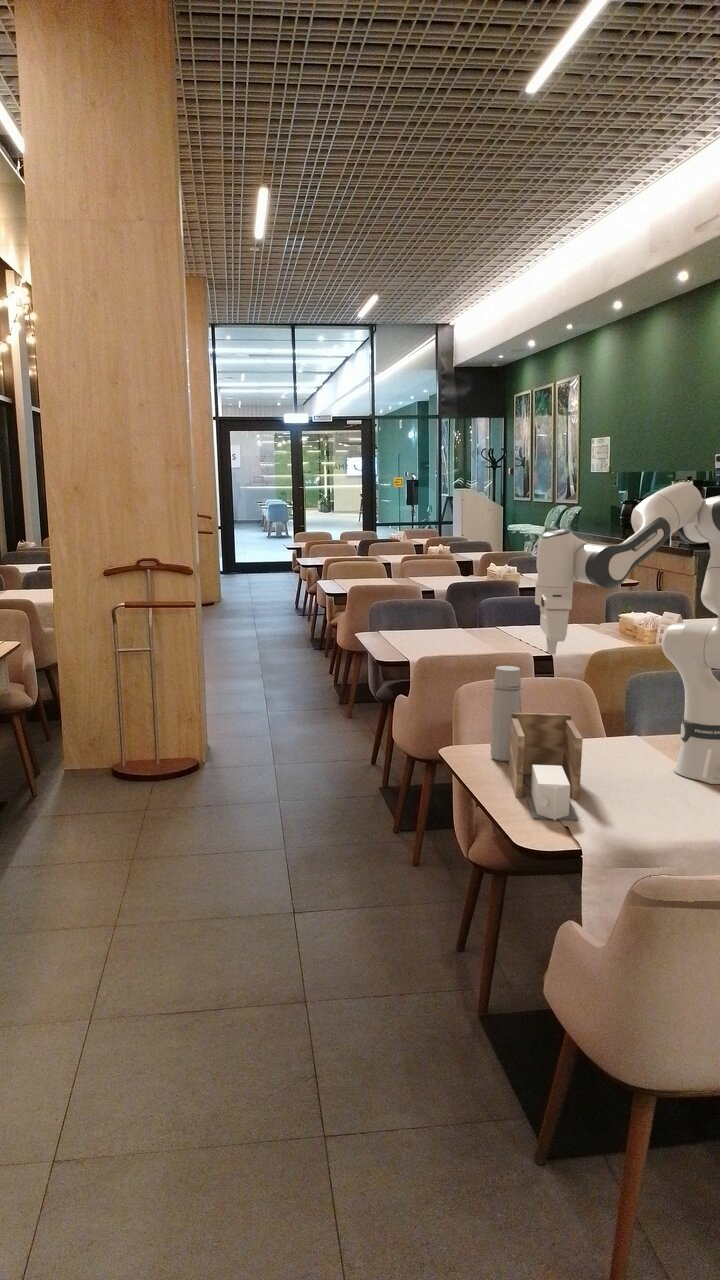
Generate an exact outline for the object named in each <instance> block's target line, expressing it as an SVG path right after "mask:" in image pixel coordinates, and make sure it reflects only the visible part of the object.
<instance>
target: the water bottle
mask: <svg viewBox="0 0 720 1280" xmlns="http://www.w3.org/2000/svg"><path fill="white" fill-rule="evenodd" d="M521 675H522V673H521V668H520V667H518V666H512V665H500V666H496V667H495V671H494V678H493V682H492V686H493V688H492V710H491V711H492V713H491V717H492V718H491V736H490V737H491V740H490V757H491V758H492V759H493V760H496V761H499V762H509V758H510V734H511V713H522V702H521V701H522V700H521V690H522V689H523V686H522V678H521Z"/></svg>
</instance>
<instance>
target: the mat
mask: <svg viewBox="0 0 720 1280" xmlns="http://www.w3.org/2000/svg"><path fill="white" fill-rule="evenodd" d="M525 797H526V801H527V804H528V807H529V808H528V809H529V811H530V814H531V817H532V819H533V820H550V821H551V820H552V821H553V820H554V819H551V818H548V817H545V816H541V815H538V814H537V812H536V808H535V805H534V801H533V798H532V796H525ZM556 820H558V821H579V818H578V816H577V813H576V810H575V807H574V806H573V804H572V802H571V800H570V801H569V815H568V816H565V817H561V818H558V819H556ZM556 820H555V821H556Z"/></svg>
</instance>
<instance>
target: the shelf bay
mask: <svg viewBox="0 0 720 1280" xmlns="http://www.w3.org/2000/svg"><path fill="white" fill-rule="evenodd" d="M582 755H583V737H582V735H581V733H580V731H579V730H578V728H577V726H576V725H575V723H574V722H573V720H572V714H571V713H567V714H566V713H542V712H541V713H540V712H539V713H538V712H537V713H535V712H521V713H511V734H510V758H509V761H508V763H509V764H508V775H509V778H510V782H511V785H512V789H513V793H514V796H515V798H523V785H524V783H523V781H524V775H523V774H532V765H555V766H562V767H563V770H564V772H565V774H566V777H567V779H568V781H569V784H570V793H571V794H570V797H571V798H572V800H580V793H581V792H580V790H581V776H582V775H581V772H582V760H583V759H582V758H583V757H582Z"/></svg>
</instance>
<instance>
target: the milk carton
mask: <svg viewBox="0 0 720 1280" xmlns="http://www.w3.org/2000/svg"><path fill="white" fill-rule="evenodd" d="M530 793H531V797H532V798H533V801H534V805H535V808H536V812H537V814H538V815H541V816H545V817H548V818H551V819H554V821H553V822H556V819H558V818H561V817H565V816H568V815H569V801H571V800H570V799H571V798H570V797H571V794H570V784H569V781H568V779H567V777H566V774H565V772H564V770H563V767H562V766H555V765H532V775H531V781H530Z"/></svg>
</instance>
